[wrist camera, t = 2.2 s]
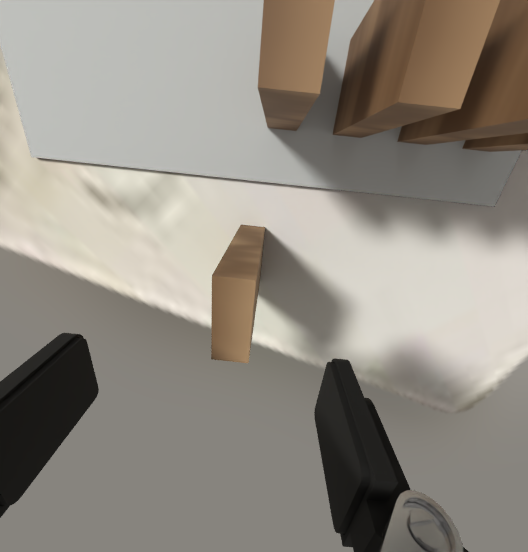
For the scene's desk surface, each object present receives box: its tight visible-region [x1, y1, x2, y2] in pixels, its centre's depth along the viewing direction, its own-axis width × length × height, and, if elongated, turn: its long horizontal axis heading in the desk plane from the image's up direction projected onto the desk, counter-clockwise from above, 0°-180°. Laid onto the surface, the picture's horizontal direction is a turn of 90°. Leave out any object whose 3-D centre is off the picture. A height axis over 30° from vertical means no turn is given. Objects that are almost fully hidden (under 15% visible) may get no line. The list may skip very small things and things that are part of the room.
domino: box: [211, 225, 265, 363], centre depth 17 cm, size 2×5×10 cm, turn 175°
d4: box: [258, 0, 335, 131], centre depth 11 cm, size 2×5×10 cm, turn 175°
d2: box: [397, 0, 528, 145], centre depth 11 cm, size 2×5×10 cm, turn 174°
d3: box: [333, 0, 500, 138], centre depth 11 cm, size 2×5×10 cm, turn 174°
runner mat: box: [0, 0, 522, 207], centre depth 16 cm, size 35×12×1 cm, turn 84°
